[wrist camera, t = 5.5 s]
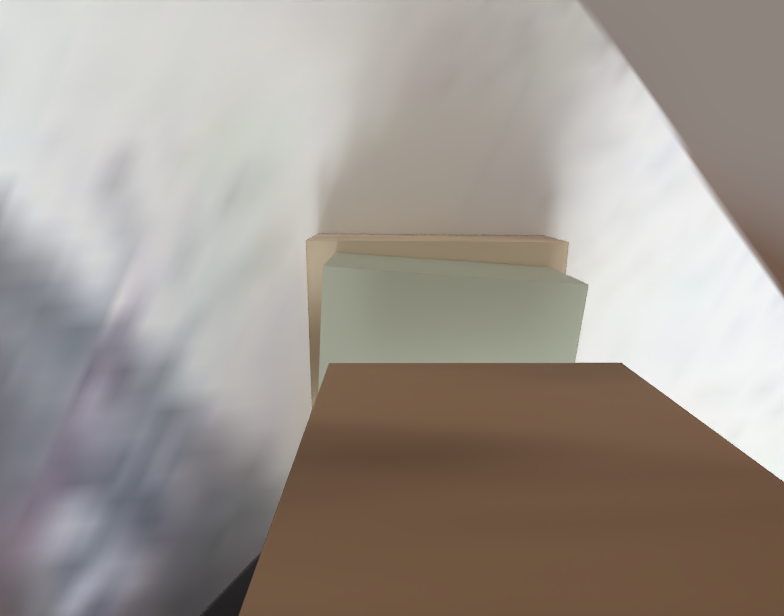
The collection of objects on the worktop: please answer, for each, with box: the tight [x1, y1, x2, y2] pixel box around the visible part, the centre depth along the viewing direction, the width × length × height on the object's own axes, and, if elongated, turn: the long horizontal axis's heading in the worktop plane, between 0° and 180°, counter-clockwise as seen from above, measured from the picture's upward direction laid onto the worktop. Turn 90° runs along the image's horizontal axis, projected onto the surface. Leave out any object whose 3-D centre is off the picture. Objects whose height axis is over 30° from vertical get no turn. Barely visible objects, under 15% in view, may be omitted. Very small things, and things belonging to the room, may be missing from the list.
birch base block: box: [306, 234, 569, 409], centre depth 17 cm, size 8×8×3 cm
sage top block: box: [318, 252, 588, 392], centre depth 14 cm, size 7×7×3 cm
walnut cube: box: [239, 363, 784, 616], centre depth 6 cm, size 5×5×5 cm
